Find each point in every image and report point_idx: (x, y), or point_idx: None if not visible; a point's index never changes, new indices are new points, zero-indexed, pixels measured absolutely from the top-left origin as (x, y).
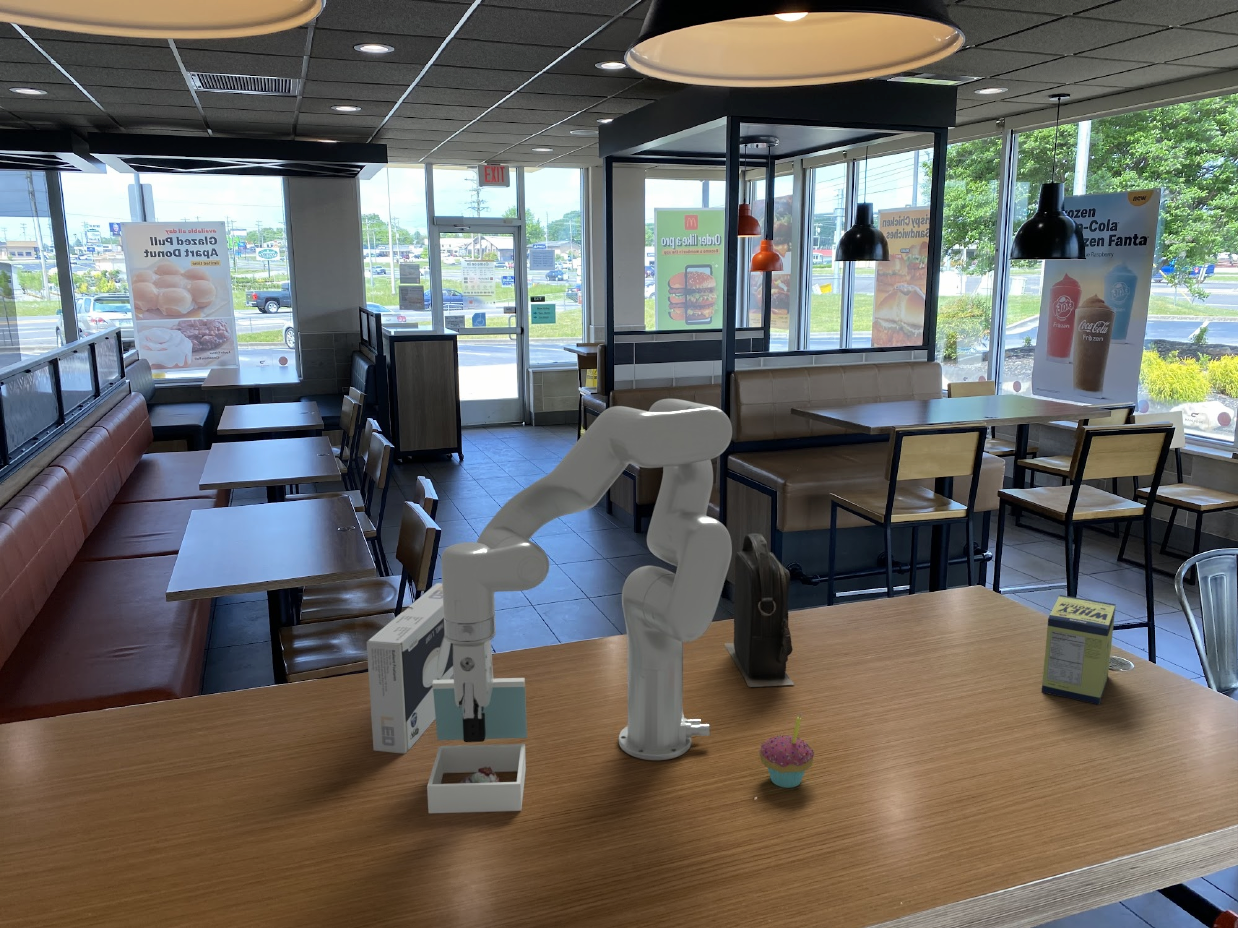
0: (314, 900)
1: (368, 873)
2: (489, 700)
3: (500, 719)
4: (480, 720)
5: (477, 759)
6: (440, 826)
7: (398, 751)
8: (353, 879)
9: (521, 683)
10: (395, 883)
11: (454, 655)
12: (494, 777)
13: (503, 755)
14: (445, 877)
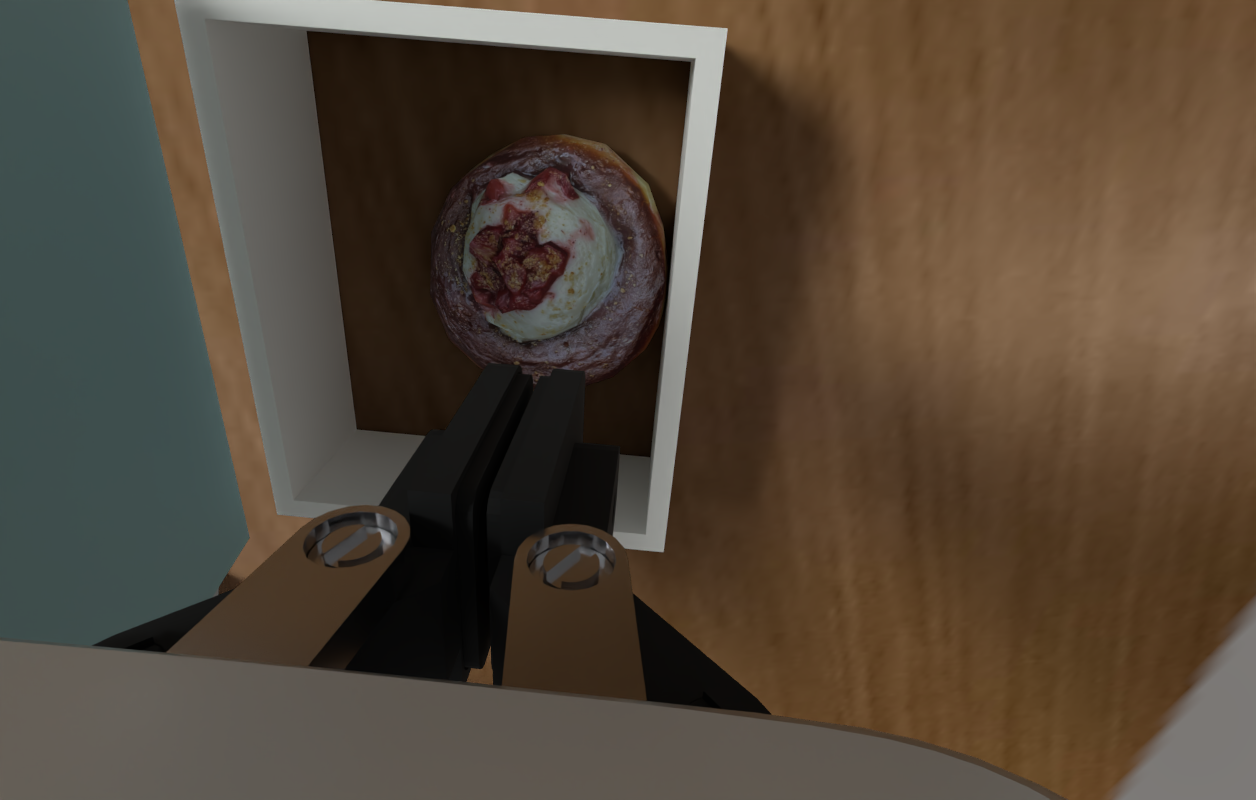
0: (1073, 738)
1: (996, 629)
2: (833, 774)
3: (61, 205)
4: (553, 514)
5: (303, 301)
6: (770, 425)
7: (214, 594)
8: (1011, 663)
9: None
10: (1093, 554)
11: None
12: (548, 209)
13: (269, 151)
14: (1141, 394)
